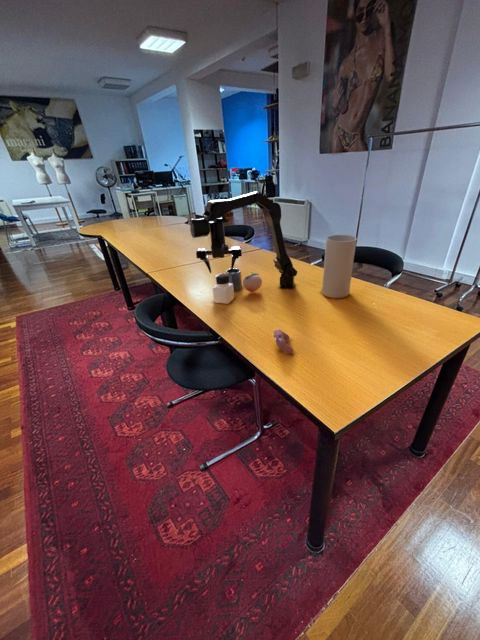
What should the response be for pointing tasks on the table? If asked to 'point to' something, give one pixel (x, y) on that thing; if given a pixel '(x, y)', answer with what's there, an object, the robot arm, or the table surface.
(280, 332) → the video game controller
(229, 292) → the medicine bottle
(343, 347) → the table surface
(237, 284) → the glazed cup
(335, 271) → the cylinder vase
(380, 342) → the table surface
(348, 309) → the table surface
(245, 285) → the decorative fruit
